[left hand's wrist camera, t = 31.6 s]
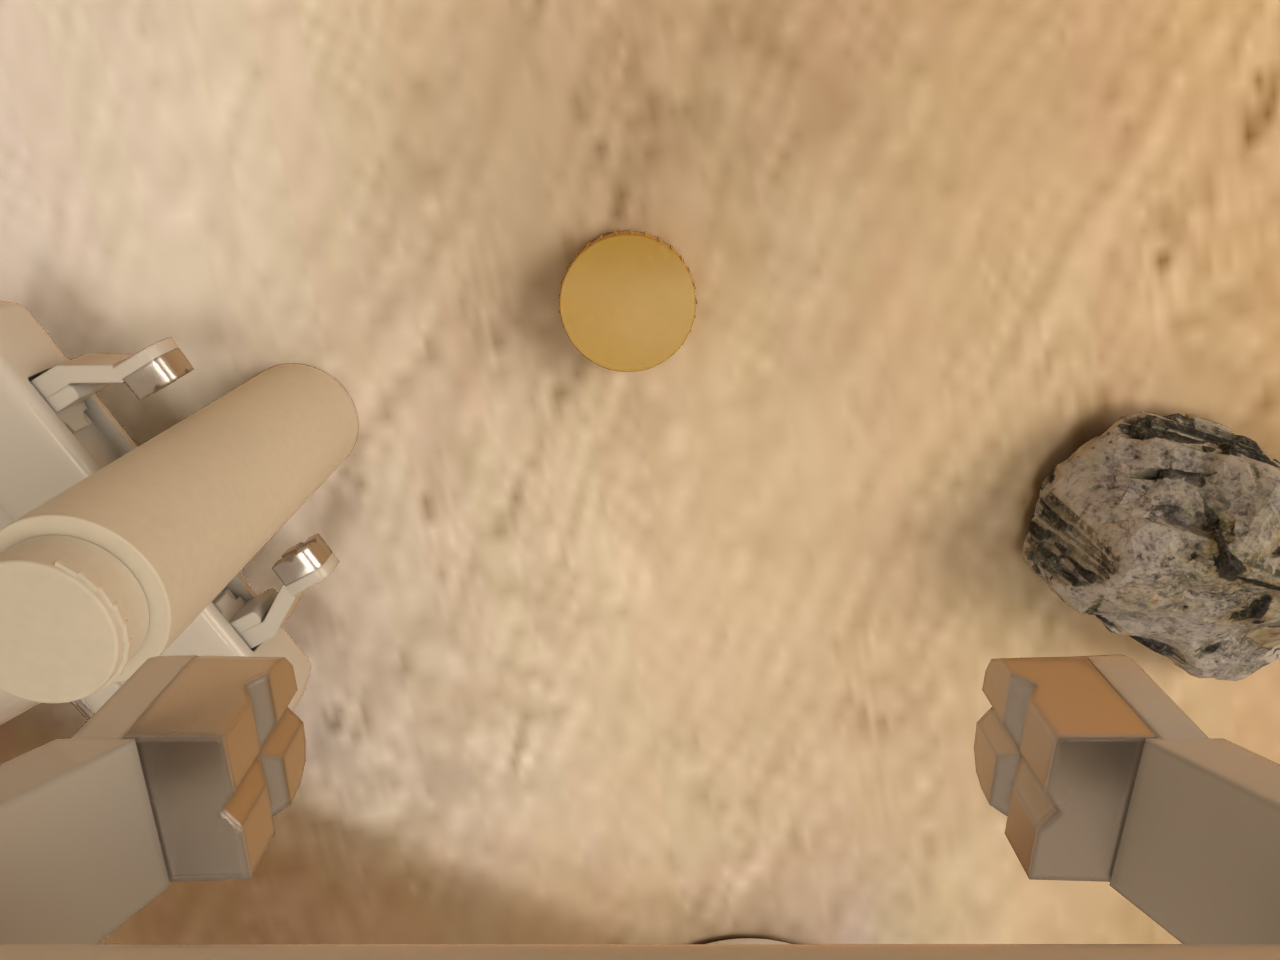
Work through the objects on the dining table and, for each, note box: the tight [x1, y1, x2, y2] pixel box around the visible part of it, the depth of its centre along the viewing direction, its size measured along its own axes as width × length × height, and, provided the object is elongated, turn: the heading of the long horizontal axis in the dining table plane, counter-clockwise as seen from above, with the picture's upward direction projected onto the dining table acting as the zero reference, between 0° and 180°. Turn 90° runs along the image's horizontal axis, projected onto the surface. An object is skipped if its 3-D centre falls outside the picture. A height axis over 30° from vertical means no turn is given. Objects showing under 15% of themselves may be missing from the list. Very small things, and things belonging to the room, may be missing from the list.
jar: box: [0, 364, 358, 703], centre depth 32 cm, size 5×5×19 cm
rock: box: [1022, 411, 1280, 681], centre depth 39 cm, size 15×10×7 cm
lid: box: [559, 229, 697, 372], centre depth 38 cm, size 6×6×2 cm
